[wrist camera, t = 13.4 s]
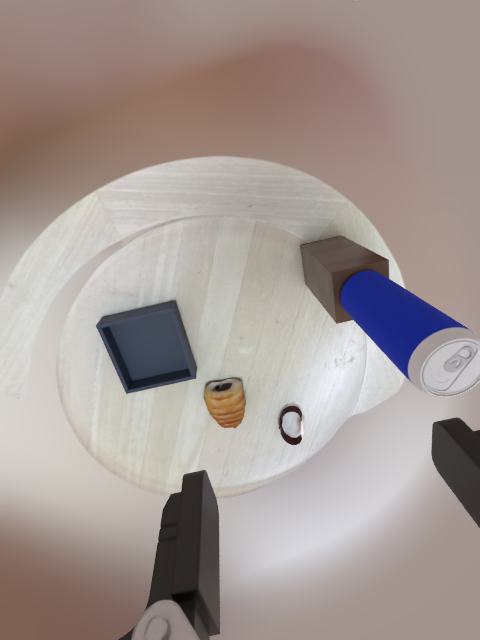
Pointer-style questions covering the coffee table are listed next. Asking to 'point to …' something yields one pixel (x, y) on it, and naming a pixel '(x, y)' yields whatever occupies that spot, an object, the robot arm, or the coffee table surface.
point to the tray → (148, 347)
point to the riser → (337, 270)
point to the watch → (297, 440)
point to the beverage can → (414, 335)
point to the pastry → (226, 402)
